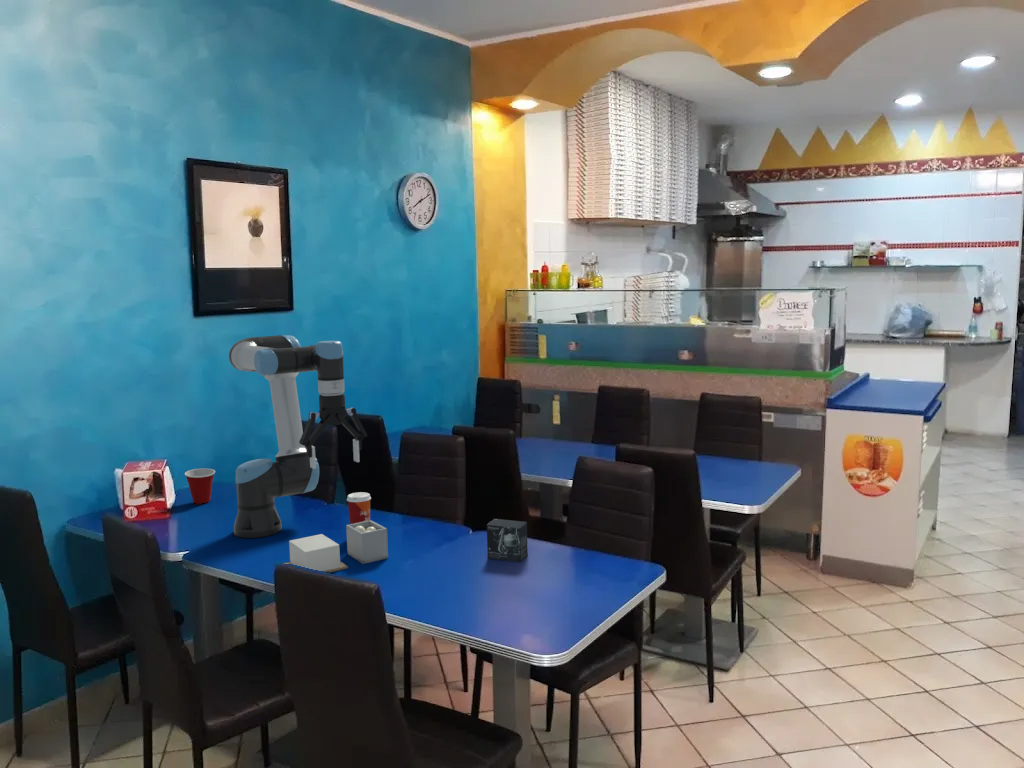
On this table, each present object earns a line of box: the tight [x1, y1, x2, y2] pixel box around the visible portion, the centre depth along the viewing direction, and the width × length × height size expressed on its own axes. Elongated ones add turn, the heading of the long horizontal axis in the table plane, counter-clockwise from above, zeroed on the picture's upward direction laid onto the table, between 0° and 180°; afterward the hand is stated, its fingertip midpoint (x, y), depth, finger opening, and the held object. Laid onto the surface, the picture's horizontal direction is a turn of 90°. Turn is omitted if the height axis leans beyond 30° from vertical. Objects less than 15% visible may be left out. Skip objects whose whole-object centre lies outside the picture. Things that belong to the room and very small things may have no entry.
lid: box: [288, 533, 341, 571], centre depth 238 cm, size 13×10×7 cm
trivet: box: [283, 560, 349, 574], centre depth 239 cm, size 14×14×1 cm
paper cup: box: [346, 491, 372, 524], centre depth 264 cm, size 8×8×14 cm
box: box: [486, 518, 529, 563], centre depth 242 cm, size 11×7×10 cm, turn 68°
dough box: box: [345, 519, 389, 565], centre depth 246 cm, size 11×8×9 cm
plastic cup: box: [184, 468, 216, 505], centre depth 311 cm, size 11×11×12 cm
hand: (335, 464), depth 246 cm, fingers open, 13 cm apart
